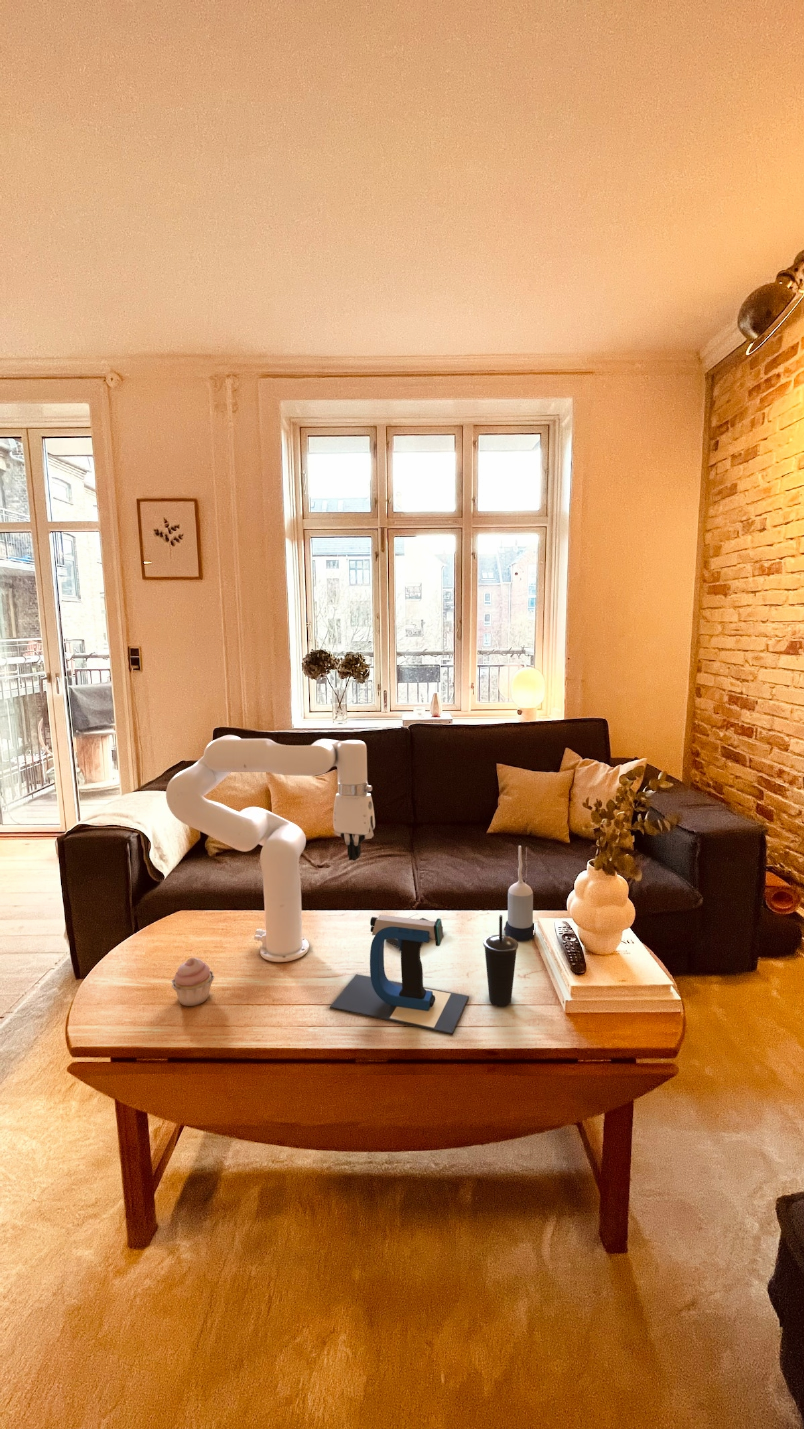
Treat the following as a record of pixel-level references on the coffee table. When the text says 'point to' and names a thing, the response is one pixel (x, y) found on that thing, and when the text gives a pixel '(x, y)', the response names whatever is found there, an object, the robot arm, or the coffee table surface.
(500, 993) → the drinking cup
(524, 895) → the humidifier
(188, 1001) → the cupcake
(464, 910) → the coffee table surface
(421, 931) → the handheld scanner
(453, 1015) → the mat
